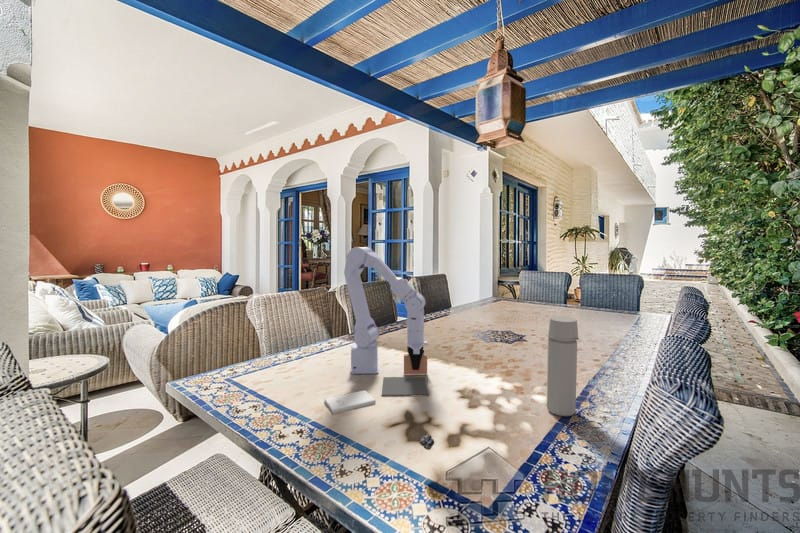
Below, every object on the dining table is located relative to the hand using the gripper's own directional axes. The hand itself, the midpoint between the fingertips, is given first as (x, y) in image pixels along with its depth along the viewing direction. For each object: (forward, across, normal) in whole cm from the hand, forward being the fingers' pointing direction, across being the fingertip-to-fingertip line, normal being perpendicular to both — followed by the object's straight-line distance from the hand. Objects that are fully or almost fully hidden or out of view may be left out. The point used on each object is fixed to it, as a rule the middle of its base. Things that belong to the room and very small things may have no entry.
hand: (415, 368), depth 124 cm
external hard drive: (+3, -21, +20) cm, 29 cm away
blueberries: (+3, -42, -1) cm, 42 cm away
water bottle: (+2, -27, -38) cm, 47 cm away
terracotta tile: (+2, 0, 0) cm, 2 cm away
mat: (+2, -10, +4) cm, 11 cm away
